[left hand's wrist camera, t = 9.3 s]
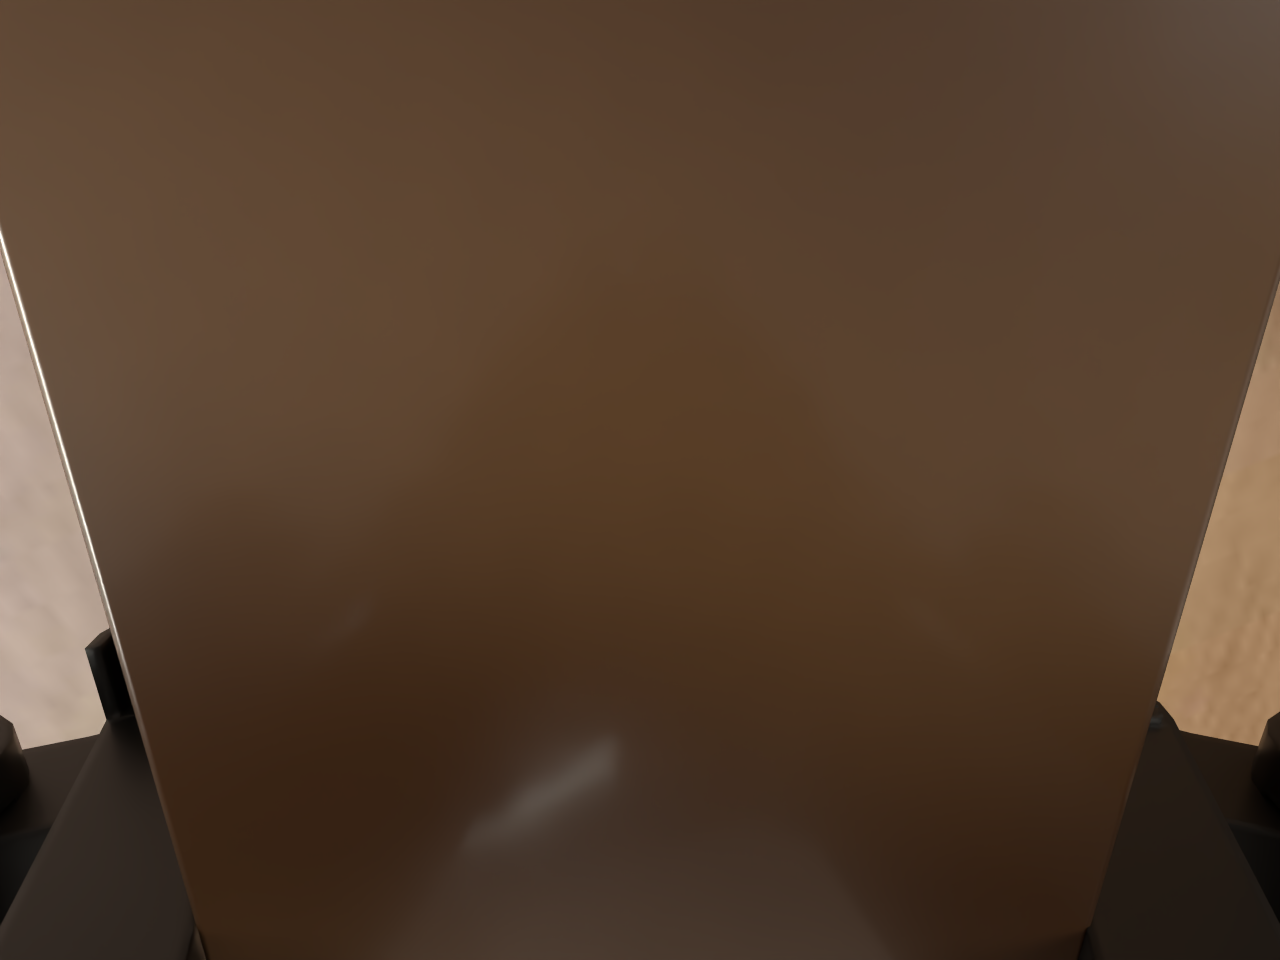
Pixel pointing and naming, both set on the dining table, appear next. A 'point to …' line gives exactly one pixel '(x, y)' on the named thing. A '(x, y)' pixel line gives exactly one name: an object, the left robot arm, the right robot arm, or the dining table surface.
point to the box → (642, 447)
